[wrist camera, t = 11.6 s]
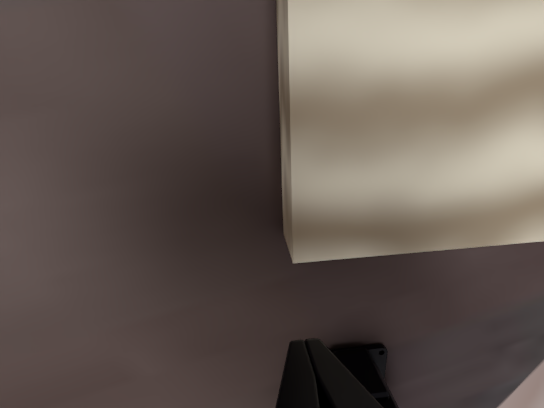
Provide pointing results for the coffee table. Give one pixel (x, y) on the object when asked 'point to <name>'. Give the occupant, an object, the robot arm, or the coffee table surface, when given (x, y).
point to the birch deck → (410, 125)
